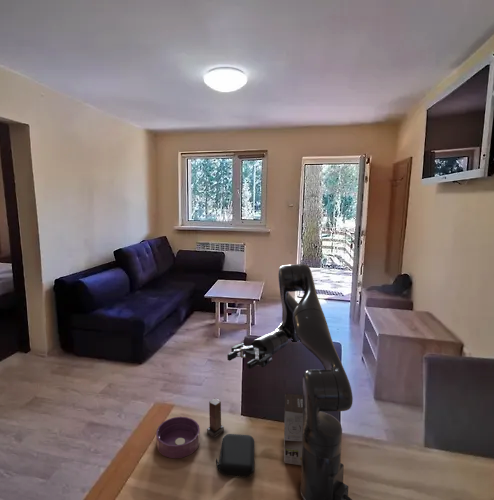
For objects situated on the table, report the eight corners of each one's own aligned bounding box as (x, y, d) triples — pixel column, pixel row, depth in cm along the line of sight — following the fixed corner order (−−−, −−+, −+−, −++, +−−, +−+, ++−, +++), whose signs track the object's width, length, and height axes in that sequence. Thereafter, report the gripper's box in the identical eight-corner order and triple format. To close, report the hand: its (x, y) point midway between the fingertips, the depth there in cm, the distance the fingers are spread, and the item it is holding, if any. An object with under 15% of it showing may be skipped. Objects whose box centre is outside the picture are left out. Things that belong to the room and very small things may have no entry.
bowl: (208, 443, 103) (208, 429, 102) (175, 467, 94) (174, 453, 93) (181, 423, 112) (181, 411, 111) (148, 444, 102) (147, 431, 102)
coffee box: (307, 466, 93) (308, 413, 91) (283, 463, 95) (284, 411, 92) (305, 443, 102) (307, 394, 100) (284, 440, 103) (285, 392, 101)
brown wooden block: (216, 427, 110) (216, 396, 108) (223, 432, 107) (223, 400, 106) (207, 434, 107) (206, 402, 105) (214, 439, 104) (213, 406, 103)
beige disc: (187, 443, 102) (187, 441, 102) (179, 448, 100) (179, 446, 100) (180, 438, 104) (180, 436, 104) (173, 443, 102) (173, 441, 102)
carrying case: (220, 439, 104) (213, 478, 90) (219, 430, 104) (213, 468, 89) (254, 441, 103) (253, 481, 89) (254, 432, 103) (253, 471, 88)
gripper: (251, 331, 128) (221, 345, 116) (283, 342, 118) (254, 358, 106) (251, 349, 129) (222, 365, 117) (282, 361, 119) (254, 380, 107)
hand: (237, 362), depth 112 cm, fingers open, 8 cm apart
